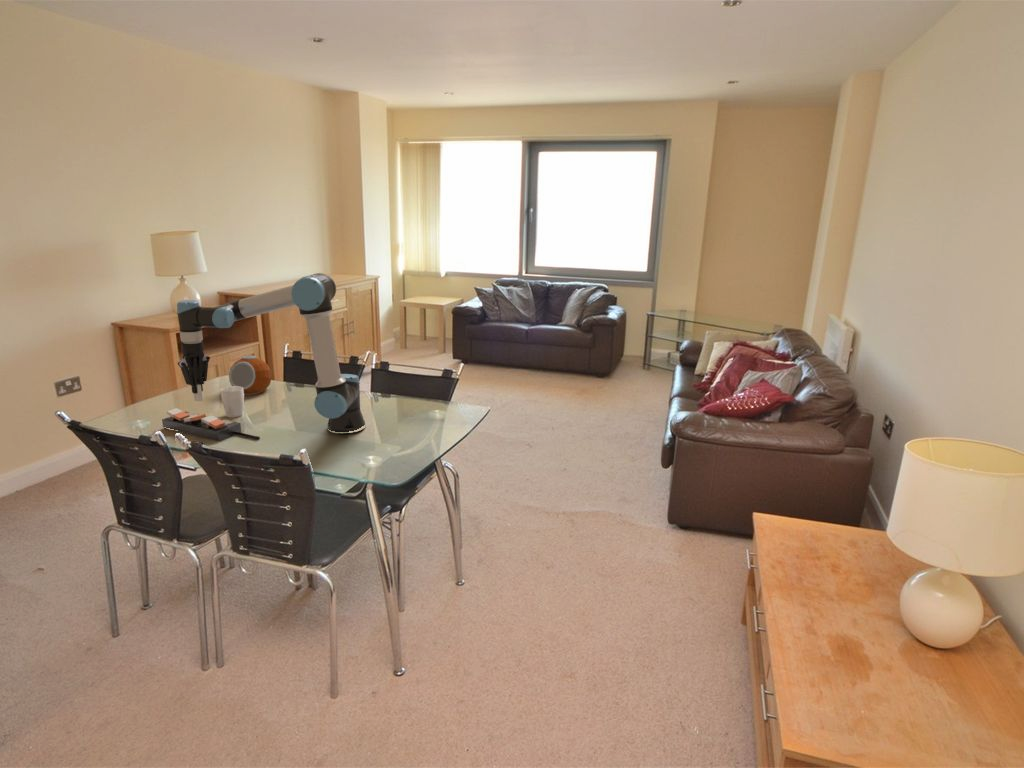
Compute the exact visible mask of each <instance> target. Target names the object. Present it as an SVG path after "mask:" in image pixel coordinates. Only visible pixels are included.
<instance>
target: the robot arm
mask: <svg viewBox="0 0 1024 768" xmlns="http://www.w3.org/2000/svg"><path fill="white" fill-rule="evenodd" d="M336 293H337V286H336V283H335V281H334V279H333V278H332V277H331V276H329V275H328V274H325V273H322V272H319V273H314V274H311V275H306V276H302V277H301V278H299V279H298V280H296V282H294V284H292V285H289V286H285V287H282V288H278V289H274V290H271V291H267V292H262V293H261V294H256V295H252V296H249V297H245V298H241V299H237V300H232V301H228V302H227V303H224V304H220V305H217V306H214V307H213V306H211V307H209V306H201V305H200V302H199V301H198V300H195V299H188V300H181V301H178V302H177V303H176V309H177V310H176V311H177V312H176V315H177V320H178V328H179V337H180V341H181V342H180V346H181V352H182V355H183V356H182V360H181V361H178V362H177V365H178V367H179V368H180V371H181V373H182V376H183V378H184V381H185V384H186V385H188V386H190V387H191V393H192V394H193V400H194V401H195V402H203V401H204V399H203V392H204V391H203V390H204V388H203V385H204V384H205V382H207V381H208V380H207V379H208V370H209V362H210V359H211V356H208V355H205V353H204V350H205V345H204V341H203V340H204V337H203V329H202V328H218V329H229V328H231V327H232V326H233V324H235V323H234V322H237V321H240V320H245V319H249V318H252V317H255V316H259V315H263V314H267V313H270V312H274V311H279V310H282V309H286V308H289V307H293V306H296V307H298V311H299V315H300V316H301V317H303V318H305V323H306V327H307V332H308V337H309V341H310V346H311V347H310V348H311V352H312V356H313V360H314V361H313V362H314V365H315V366H314V367H315V370H316V371H315V372H316V377H317V381H316V383H315V384H314V386H315V391H316V397H315V399H314V407H315V410H316V412H317V413H318V414H319V416H320V415H321V416H322V417H324V418H326V419H328V422H327V430H328V429H329V430H331V431H335V432H349V431H354V430H357V429H359V428H361V427H362V426H364V425H365V426H366V421H365V419H364V416H363V413H362V411H361V393H360V390H361V389H360V387H361V386H360V383H361V382H360V377H359V376H358V375H357V374H351V373H341V369H340V364H339V359H338V353H337V349H336V344H335V339H334V333H333V327H332V323H331V318H330V314H331V313H332V311H333V306H332V300H333V299H334V297H335V296H336Z"/></svg>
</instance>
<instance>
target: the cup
mask: <svg viewBox="0 0 1024 768" xmlns="http://www.w3.org/2000/svg"><path fill="white" fill-rule="evenodd" d="M220 397H221V401H222V405H223V408H224V413H225V416H226V417H227V418H230V419H231V418H239V417H242V416H243V414H244V405H245V403H244V401H245V394H244V391H243V387H241V386H232V385H230V386H228V385H227V386H224V387H223V388H222V387H221V388H220Z"/></svg>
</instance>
